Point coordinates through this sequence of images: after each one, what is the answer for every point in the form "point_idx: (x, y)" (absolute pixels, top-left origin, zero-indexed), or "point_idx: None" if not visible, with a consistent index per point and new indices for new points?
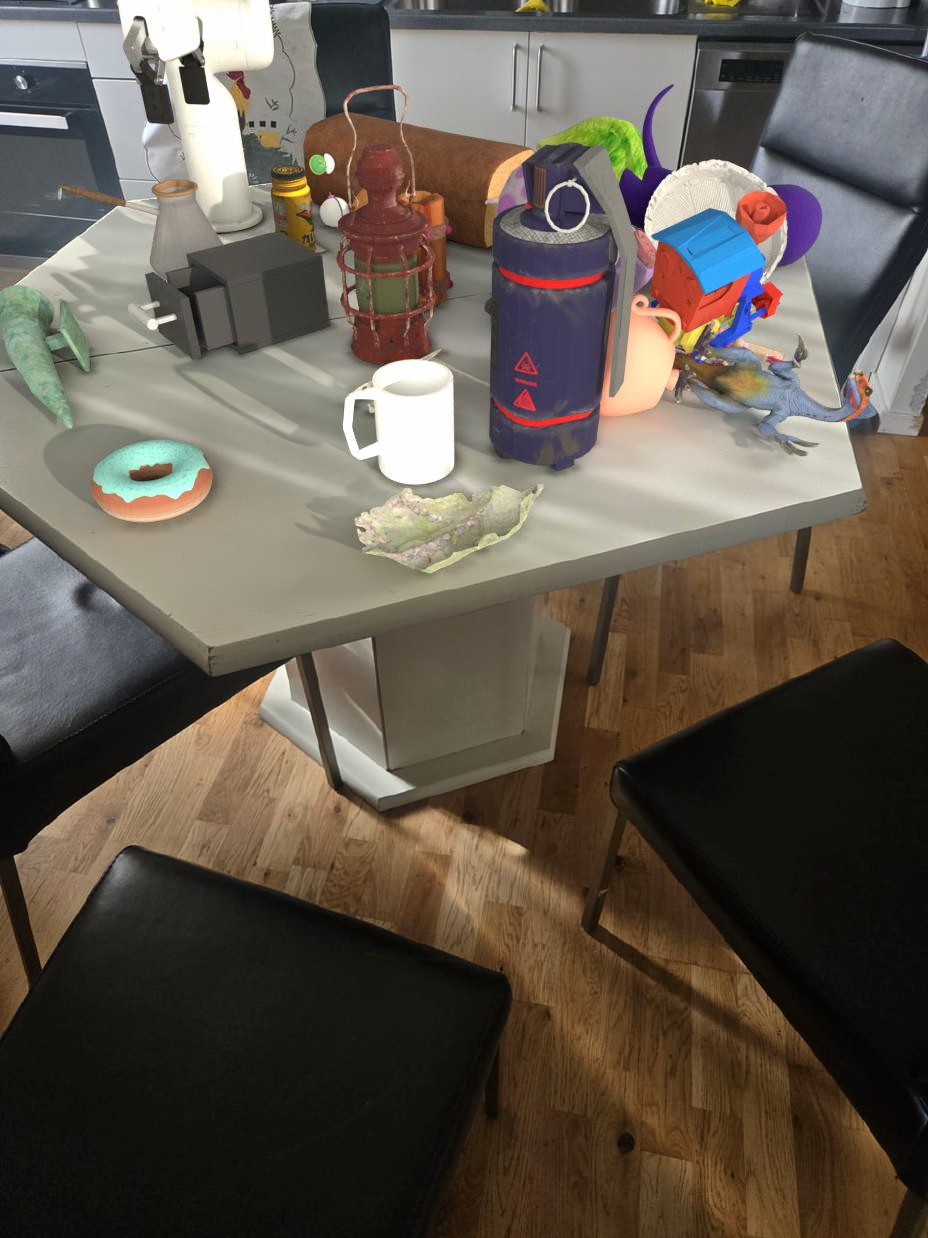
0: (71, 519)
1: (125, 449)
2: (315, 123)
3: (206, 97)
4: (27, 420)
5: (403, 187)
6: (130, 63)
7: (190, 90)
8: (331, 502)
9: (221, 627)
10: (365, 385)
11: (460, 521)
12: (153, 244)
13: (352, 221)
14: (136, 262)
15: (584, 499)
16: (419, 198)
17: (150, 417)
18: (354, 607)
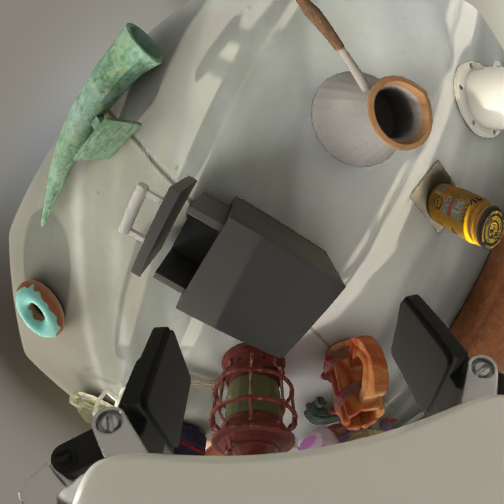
0: (16, 274)
1: (31, 298)
2: None
3: (396, 363)
4: (45, 174)
5: (493, 301)
6: (47, 463)
7: (411, 340)
8: (92, 374)
9: (30, 355)
10: None
11: None
12: (338, 83)
13: (227, 440)
14: (364, 40)
15: None
16: (376, 410)
17: (84, 255)
18: (62, 387)
